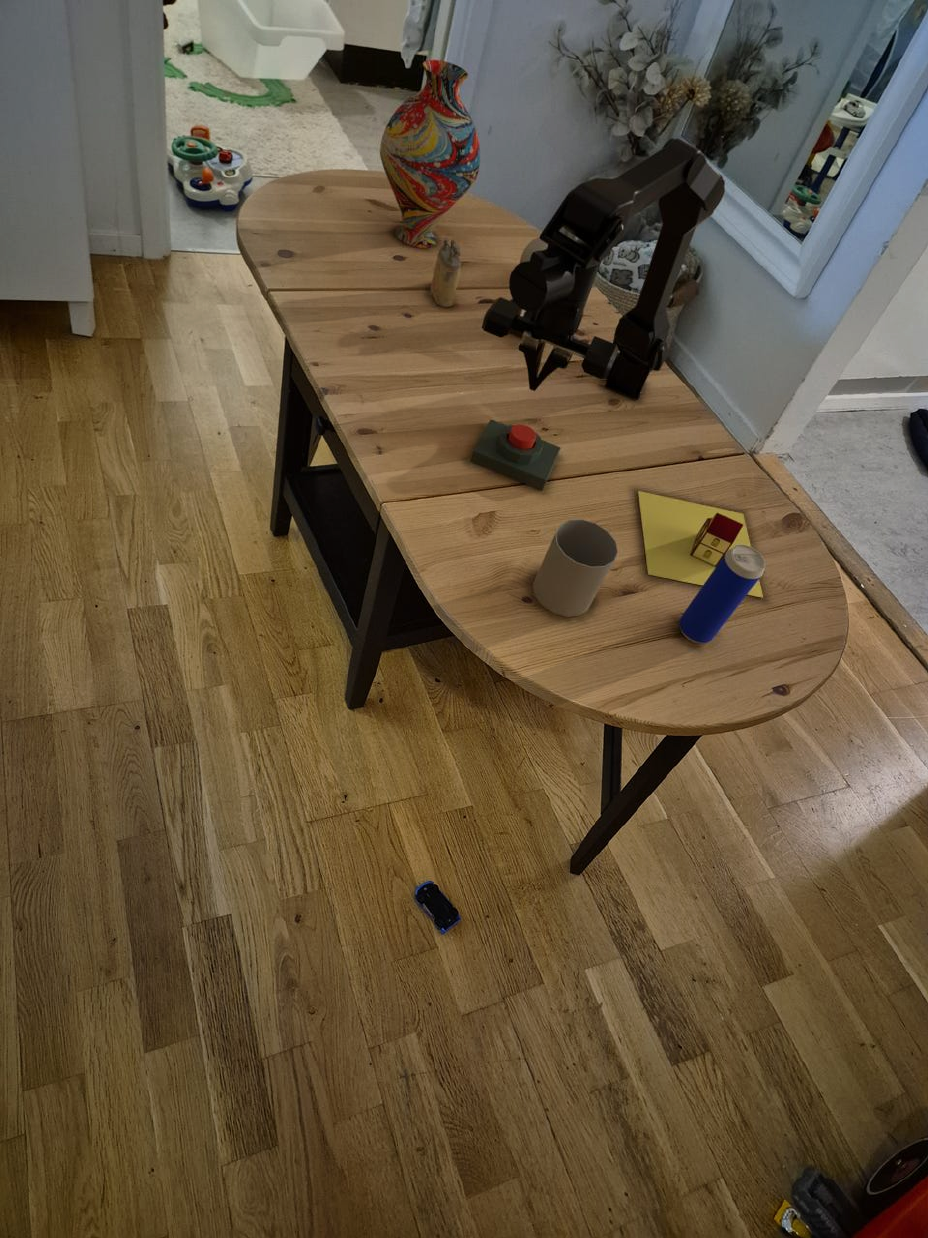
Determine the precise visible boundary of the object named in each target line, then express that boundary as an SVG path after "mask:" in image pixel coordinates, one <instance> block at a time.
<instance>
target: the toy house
mask: <svg viewBox="0 0 928 1238" xmlns="http://www.w3.org/2000/svg"><path fill="white" fill-rule="evenodd" d="M743 527H744V524H743V523H741V522H739V521H737V520H735V519H732V518H730V517H728V516H726V515H724V514H722V513H719V512H716V513H715V514H714V515H713V517H707V518H706V520H705V521H704V523H703V524H702V526H701V527H700V529H699V531H698V532H697V534H696V539H695V541H694V543H693V546H692V547H693V548H692V549H691V550H692V551H691V552H690V555H691V556H693V557H695V558H697V559H699V560H702V561H703V562H706V563H708V564H709V565H712V566H715V567H716V566H717V565H718V563H719V562H720V561H721V559H722V558H723V556H724V555H725V553H726V552H727V551H728V550H729V549H731V548H732V545H733V544H734V542H735V541H736V539H737V537H738V535H739V534H740V532H741V530H742V528H743Z"/></svg>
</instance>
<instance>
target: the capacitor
mask: <svg viewBox="0 0 928 1238" xmlns="http://www.w3.org/2000/svg"><path fill="white" fill-rule="evenodd" d="M449 241H450V244H449ZM461 254H462V253H461V246H460V244H457V241H456V240H455V239H452V240H449V238H447V237H446V238H444V240H443V246H440V247H439V250H438V253H437V256H436V261H435V265H434V269H433V270H434V271H433V275H432V280H431V285H430V287H429V290H430V292H431V294H430V296H431V298H433V299H434V302H435V303H436V305H438V306H441V307H444V308H450V307H452V306H453V305H454V301H455V297H456V293H457V289H458V283H459V280H460V279H459V278H460V275H461V271H462V269H461V267H462V261H461V259H460V256H461Z"/></svg>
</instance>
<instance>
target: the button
mask: <svg viewBox="0 0 928 1238" xmlns="http://www.w3.org/2000/svg"><path fill="white" fill-rule="evenodd" d="M513 425H514V426H513V427H512V428H511V430H510V433H509V436H508V441H509V443H510V444H511V445H512V446H513V447H515V448H518V449H520V450H529V449H531V448H532V447H533V444H534V442H535V439H536V433H537V432H536V431H535V430H534V429H533V428H532V427H530V426H528V425H525V424H513Z"/></svg>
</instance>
